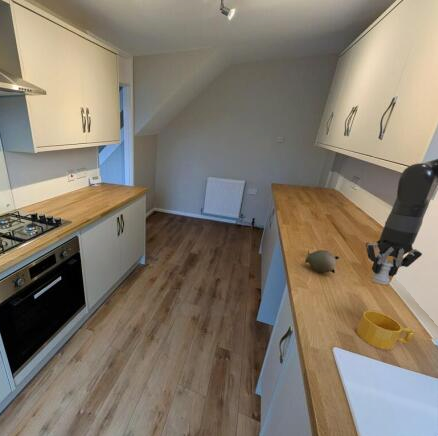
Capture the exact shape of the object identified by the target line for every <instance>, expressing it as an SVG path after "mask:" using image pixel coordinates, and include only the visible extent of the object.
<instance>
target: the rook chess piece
mask: <svg viewBox="0 0 438 436" xmlns="http://www.w3.org/2000/svg"><path fill="white" fill-rule="evenodd" d="M392 261H393V260H390V259H385V260H384V261H383V263H382V264H381V265H382V266H381V268H380V271H379V273H378V274H375V273H373V274H372V276H371V280H372V281H373V282H374V283H377V284H379V285H383V286H386V285H389V284H390V281H391V280H390V276H389V275H388V274H389V270H391V268H390V267H392V266H393V262H392Z"/></svg>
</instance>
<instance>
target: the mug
mask: <svg viewBox="0 0 438 436" xmlns="http://www.w3.org/2000/svg"><path fill="white" fill-rule="evenodd" d="M402 332H404V333H406V334H405V336H404V337H400V336H401V334H402ZM356 333H357V335H358V337H359V338H360V339H361V340H363V341H364V342H366V344H369V345H370V346H373V347H375V348H377V349H380V350H384V351H385V350H388V351H389V350H392V349H393V348H394V347H395V346H396V344H397V342H400V343H405V344H409V343H410V341H411V340H412V338H413V336H414V334H415V330H414V329H411V328H409V327H404V326H402V325H401V324H400V323H399V322H398V321H397V320H395V318H393V317H391V316H390V315H387V314H384V313H382V312H380V311H376V310H366V311H364V312H362V315H361V317H360V320H359V323H358V324H357V328H356Z"/></svg>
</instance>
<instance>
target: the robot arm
mask: <svg viewBox="0 0 438 436" xmlns="http://www.w3.org/2000/svg"><path fill="white" fill-rule="evenodd" d="M434 185H438V158H436V159H433V160H429V161H425V162H418V163H417V162H416V163H414V164H411V165H409V166H407V167H406V168H405V169H404V170H403V171H402V172H401V174H400V177H399V179H398V184H397V189H396V190H397V191H396V199H395V200H394V203H393V205H392V208H391V211H390V212H389V214H388V217H387V219H386V221H385V222H384V226H383V229H382V231H381V234H380V239H379V240H377V241H376V242H374V243H370V242H366V243H365V248H366V253H367V257H368V259H369V260H370V261H371V262H373V263H372V265H371V271H372V272H373V274H378V273H379V271H380V268H381V266H382V265H381V264H382V263H383V261H384V260H385V259H386V260H388V258H389V257H392V260H391V261H392V262H393V266H392V267H390V268H391V270H389V274H388V276H389V277H394V276H396V275H397V274H398V271H399V269H400V268H401V267H405V268H408V267H409V266H411V265H412V264H414V262H415V261H416V260H418V259H419V258H420V257H422V256H423V253H422V252H421V251H420V250H418V249H416V248H415V249H414V248H413V244H414V243H415V241H416V238H417V237H418V234H419V232H420V229H421V227H422V224H423V220H424V218H425V215H426V213H427V211H428V208H429V205H430V198H429V194H430V193H431V192H430V191H431V189H432V186H434ZM377 248H378V251H377V253H375V251H376V250H377Z"/></svg>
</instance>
